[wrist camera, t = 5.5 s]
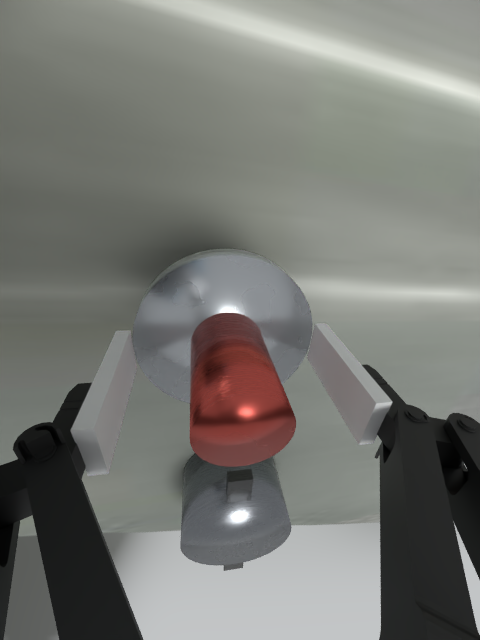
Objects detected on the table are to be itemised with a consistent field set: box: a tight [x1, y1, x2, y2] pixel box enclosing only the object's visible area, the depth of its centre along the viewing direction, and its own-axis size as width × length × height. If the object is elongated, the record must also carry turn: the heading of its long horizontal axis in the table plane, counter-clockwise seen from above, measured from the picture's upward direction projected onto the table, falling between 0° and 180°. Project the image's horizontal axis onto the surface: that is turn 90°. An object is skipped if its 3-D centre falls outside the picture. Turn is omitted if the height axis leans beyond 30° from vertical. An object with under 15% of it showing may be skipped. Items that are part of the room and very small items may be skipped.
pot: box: [181, 454, 291, 571], centre depth 38 cm, size 22×14×9 cm, turn 177°
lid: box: [133, 248, 312, 467], centre depth 14 cm, size 11×11×8 cm
